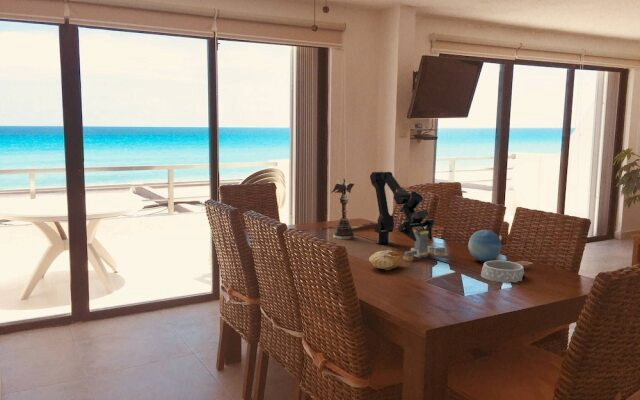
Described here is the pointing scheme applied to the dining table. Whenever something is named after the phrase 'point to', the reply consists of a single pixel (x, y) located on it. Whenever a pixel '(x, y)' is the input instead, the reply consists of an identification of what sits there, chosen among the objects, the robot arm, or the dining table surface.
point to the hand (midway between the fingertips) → (423, 239)
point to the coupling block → (421, 242)
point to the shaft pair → (432, 250)
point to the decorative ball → (484, 245)
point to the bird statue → (343, 211)
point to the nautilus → (387, 259)
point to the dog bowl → (502, 271)
